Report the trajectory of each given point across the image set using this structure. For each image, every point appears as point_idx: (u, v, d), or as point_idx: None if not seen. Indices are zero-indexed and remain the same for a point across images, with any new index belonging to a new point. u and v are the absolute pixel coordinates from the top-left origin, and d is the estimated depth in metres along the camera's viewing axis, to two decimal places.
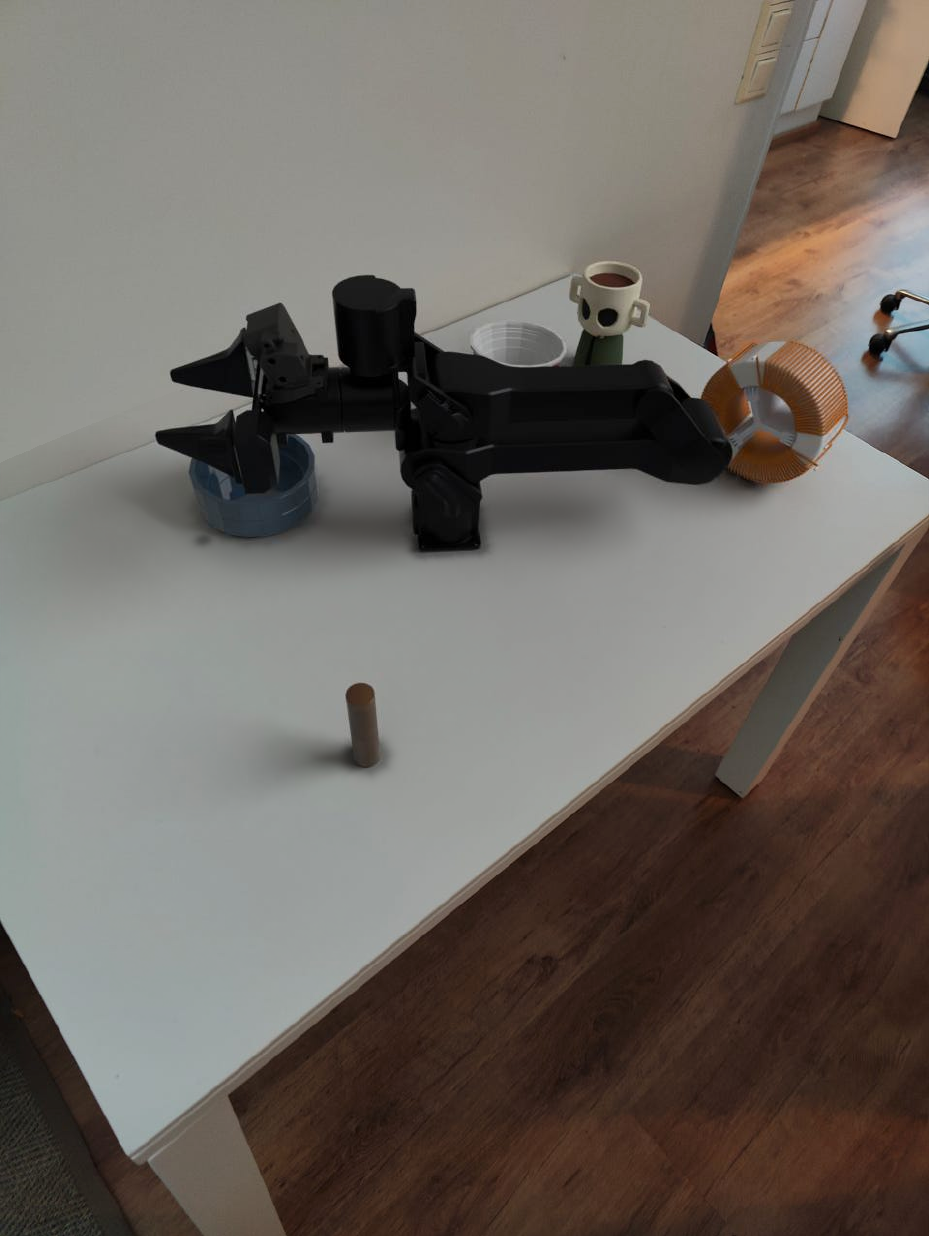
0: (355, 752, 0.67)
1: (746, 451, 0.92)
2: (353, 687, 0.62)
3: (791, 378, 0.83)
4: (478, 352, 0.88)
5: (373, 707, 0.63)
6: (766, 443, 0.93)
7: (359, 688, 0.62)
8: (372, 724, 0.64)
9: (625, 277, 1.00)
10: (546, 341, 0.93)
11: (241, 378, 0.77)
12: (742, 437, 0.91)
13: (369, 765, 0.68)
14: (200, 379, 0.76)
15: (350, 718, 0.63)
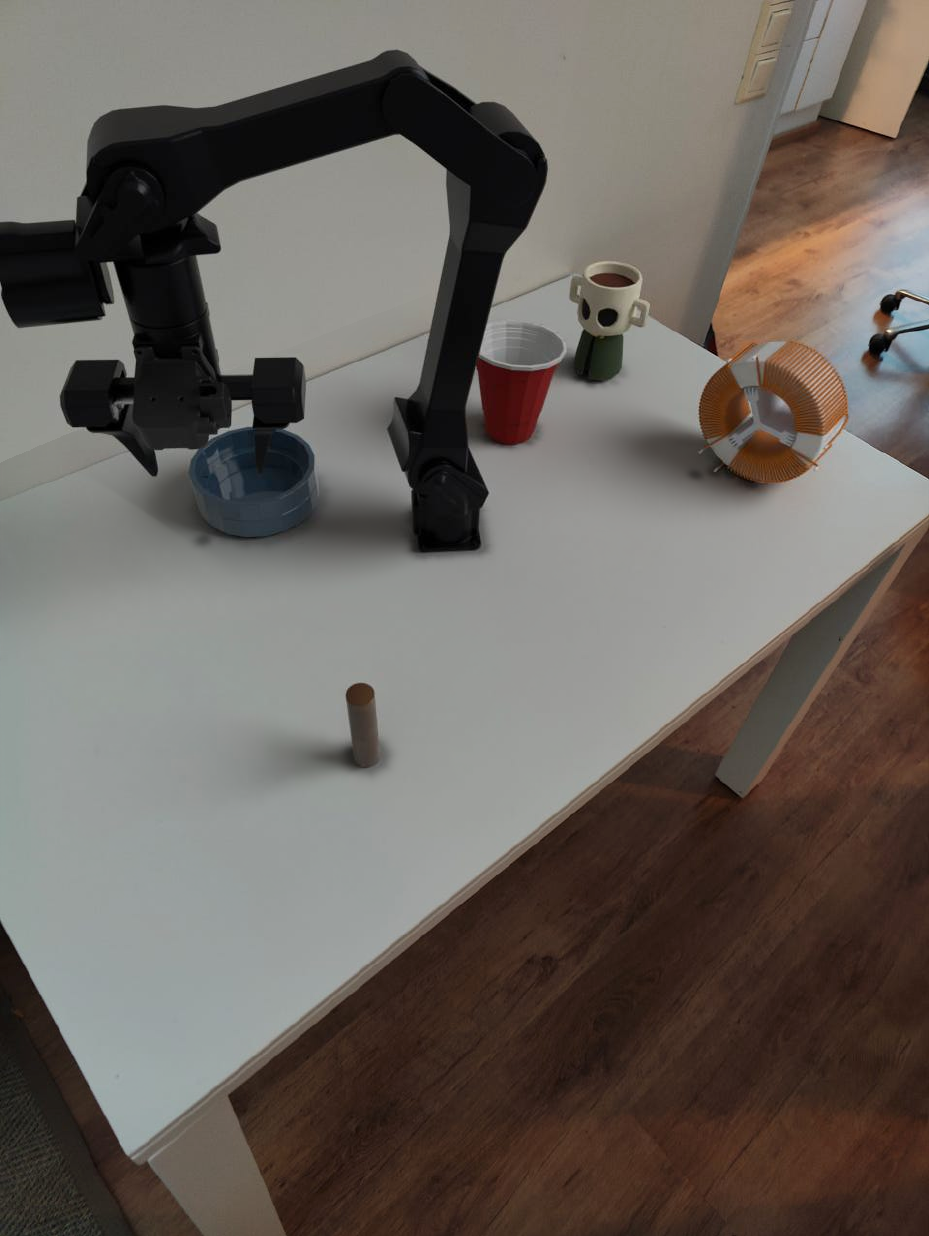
0: (355, 752, 0.67)
1: (746, 451, 0.92)
2: (353, 687, 0.62)
3: (791, 378, 0.83)
4: None
5: (373, 707, 0.63)
6: (766, 443, 0.93)
7: (359, 688, 0.62)
8: (372, 724, 0.64)
9: (625, 277, 1.00)
10: (546, 341, 0.93)
11: (133, 409, 0.69)
12: (742, 437, 0.91)
13: (369, 765, 0.68)
14: None
15: (350, 718, 0.63)
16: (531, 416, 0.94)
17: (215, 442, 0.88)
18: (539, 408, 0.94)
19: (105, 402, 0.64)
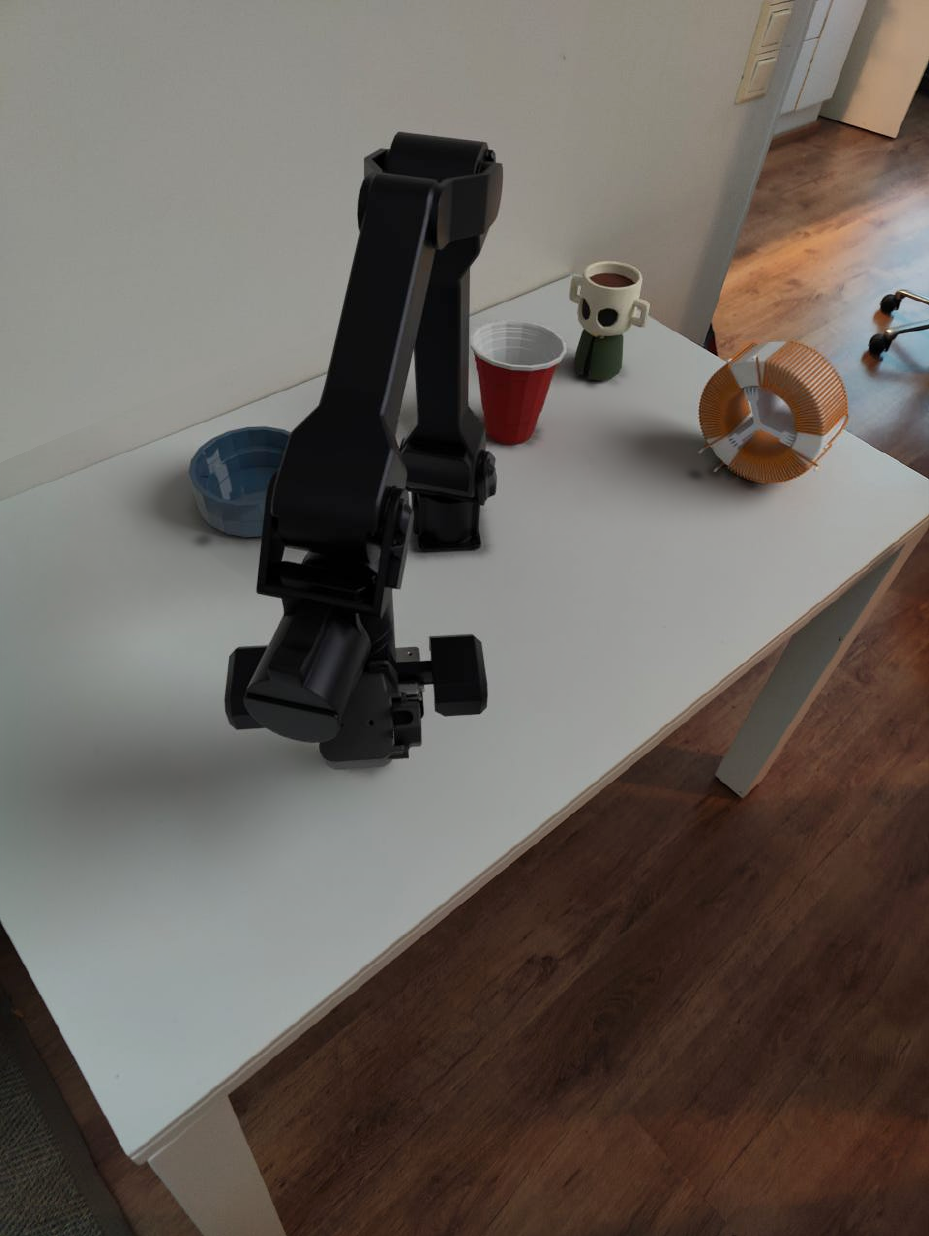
0: None
1: (746, 451, 0.92)
2: None
3: (791, 378, 0.83)
4: (478, 352, 0.88)
5: None
6: (766, 443, 0.93)
7: None
8: None
9: (625, 277, 1.00)
10: (546, 341, 0.93)
11: None
12: (742, 437, 0.91)
13: None
14: None
15: None
16: (531, 416, 0.94)
17: (215, 442, 0.88)
18: (539, 408, 0.94)
19: None
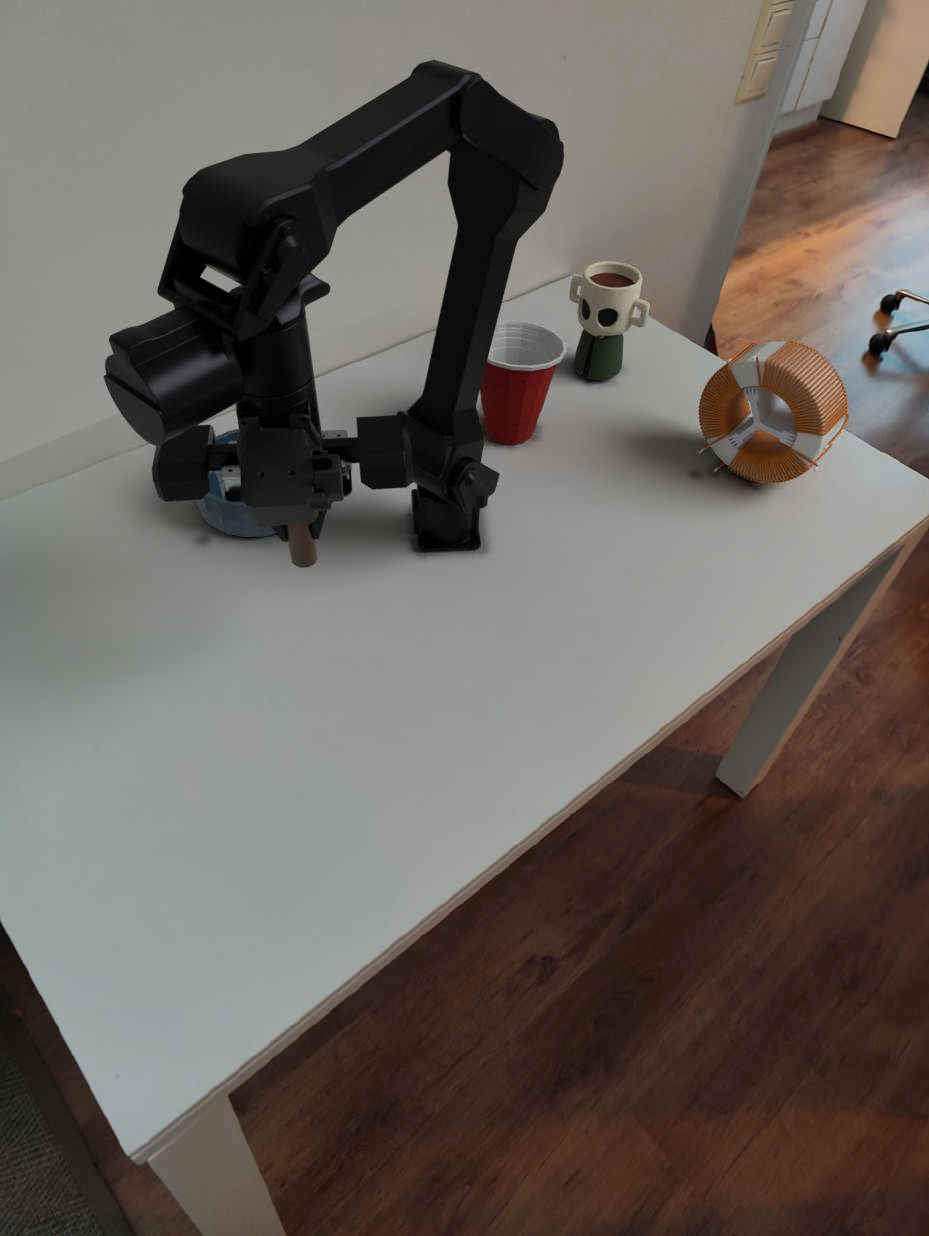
0: (291, 549, 0.68)
1: (746, 451, 0.92)
2: None
3: (791, 378, 0.83)
4: None
5: None
6: (766, 443, 0.93)
7: None
8: None
9: (625, 277, 1.00)
10: (546, 341, 0.93)
11: None
12: (742, 437, 0.91)
13: (306, 565, 0.69)
14: None
15: None
16: (531, 416, 0.94)
17: None
18: (539, 408, 0.94)
19: (202, 474, 0.59)
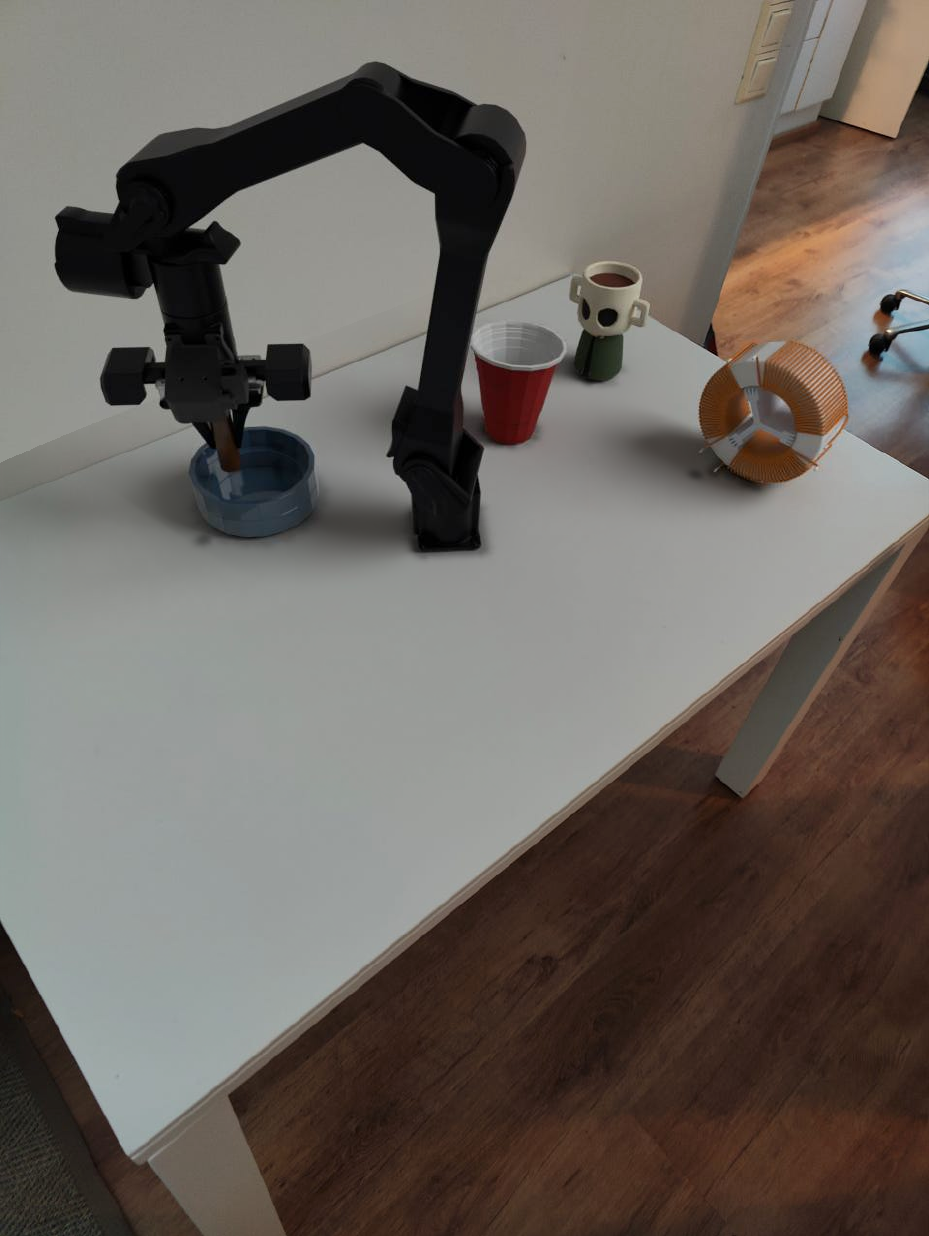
0: (218, 456, 0.83)
1: (746, 451, 0.92)
2: None
3: (791, 378, 0.83)
4: (478, 352, 0.88)
5: None
6: (766, 443, 0.93)
7: None
8: (227, 423, 0.80)
9: (625, 277, 1.00)
10: (546, 341, 0.93)
11: None
12: (742, 437, 0.91)
13: (231, 470, 0.84)
14: None
15: None
16: (531, 416, 0.94)
17: None
18: (539, 408, 0.94)
19: (139, 383, 0.74)
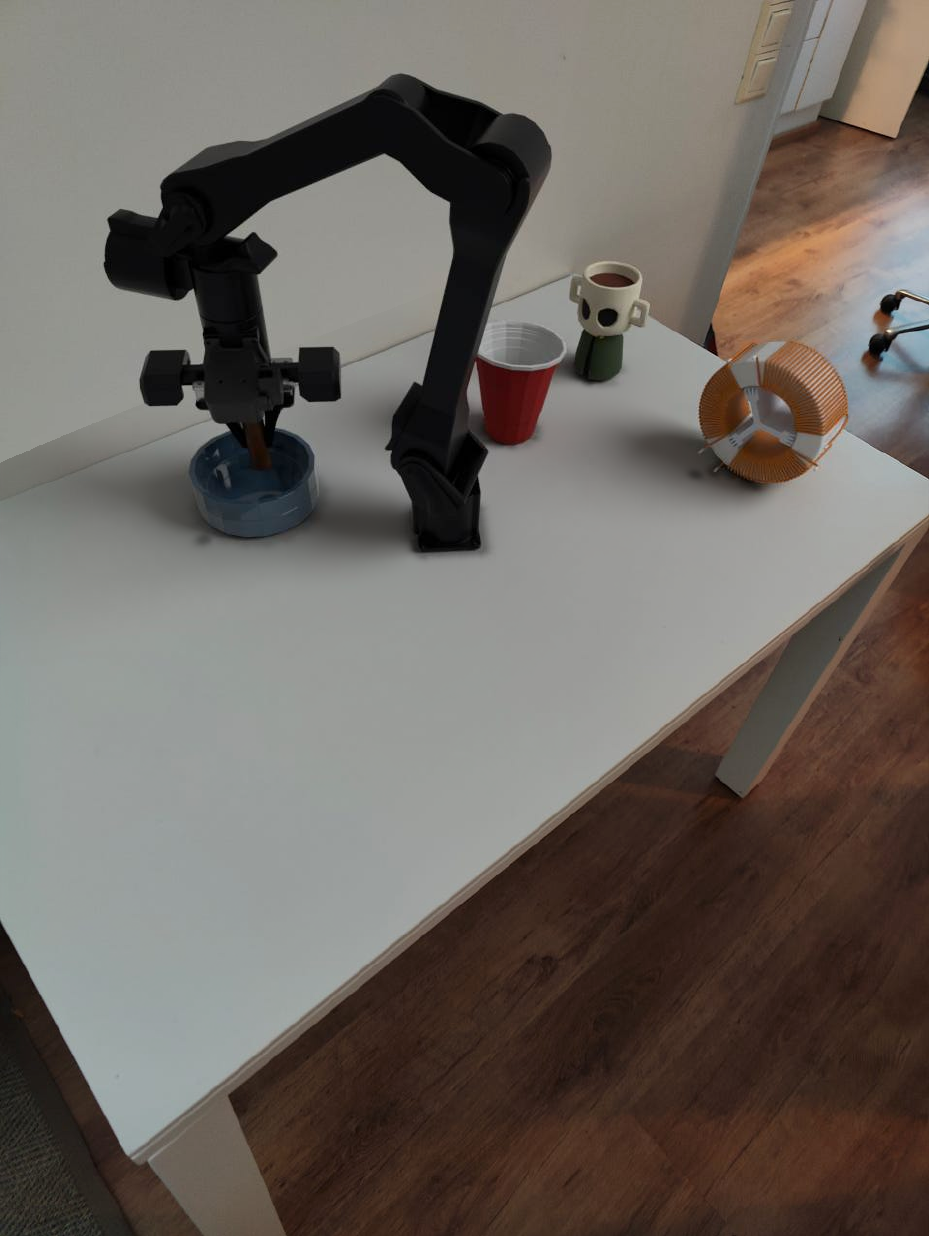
0: (249, 455, 0.86)
1: (746, 451, 0.92)
2: None
3: (791, 378, 0.83)
4: (478, 352, 0.88)
5: None
6: (766, 443, 0.93)
7: None
8: (259, 423, 0.83)
9: (625, 277, 1.00)
10: (546, 341, 0.93)
11: None
12: (742, 437, 0.91)
13: (262, 468, 0.87)
14: None
15: None
16: (531, 416, 0.94)
17: (215, 442, 0.88)
18: (539, 408, 0.94)
19: (177, 385, 0.77)
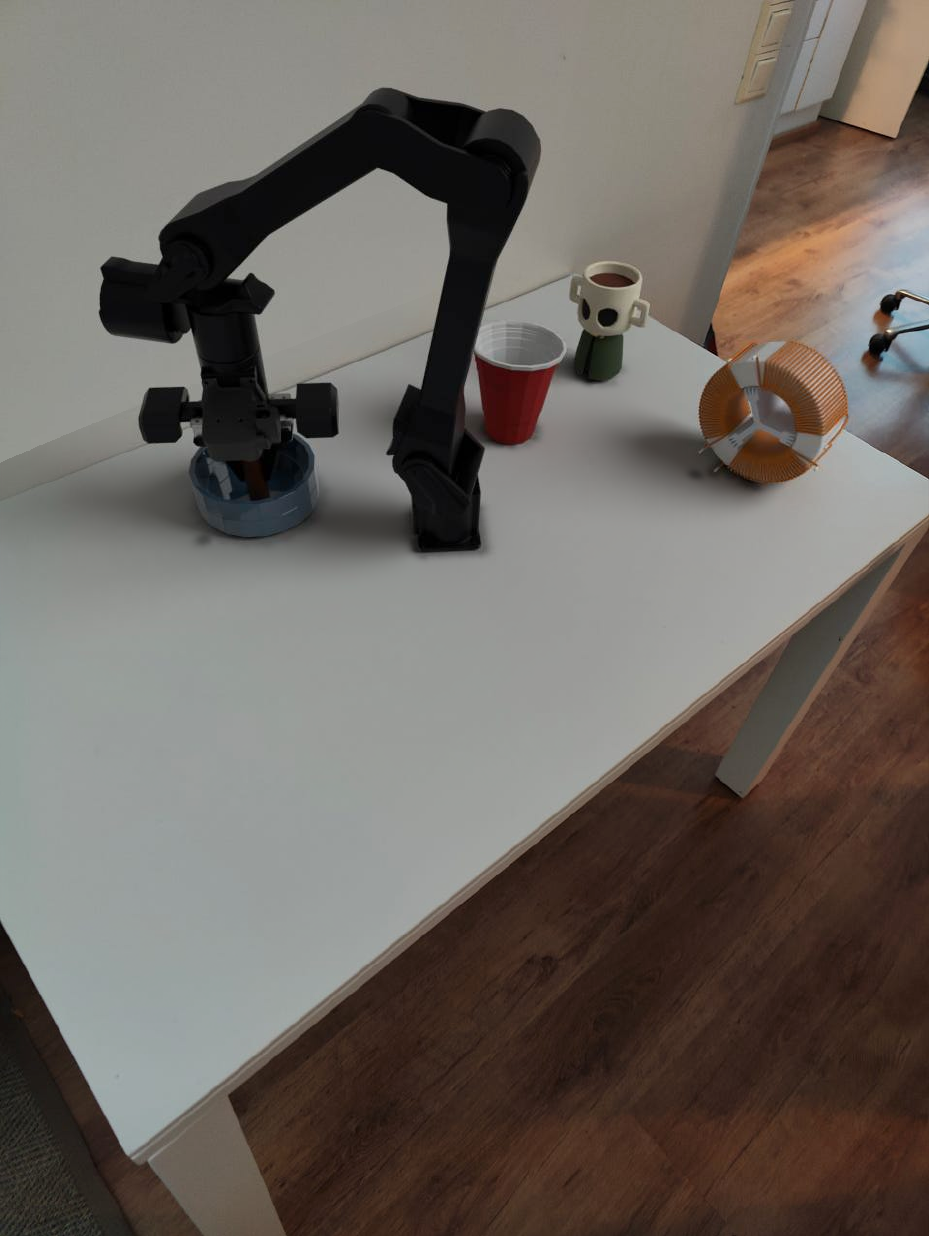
0: (248, 487, 0.87)
1: (746, 451, 0.92)
2: None
3: (791, 378, 0.83)
4: (478, 352, 0.88)
5: None
6: (766, 443, 0.93)
7: None
8: None
9: (625, 277, 1.00)
10: (546, 341, 0.93)
11: None
12: (742, 437, 0.91)
13: None
14: None
15: None
16: (531, 416, 0.94)
17: None
18: (539, 408, 0.94)
19: (176, 423, 0.78)
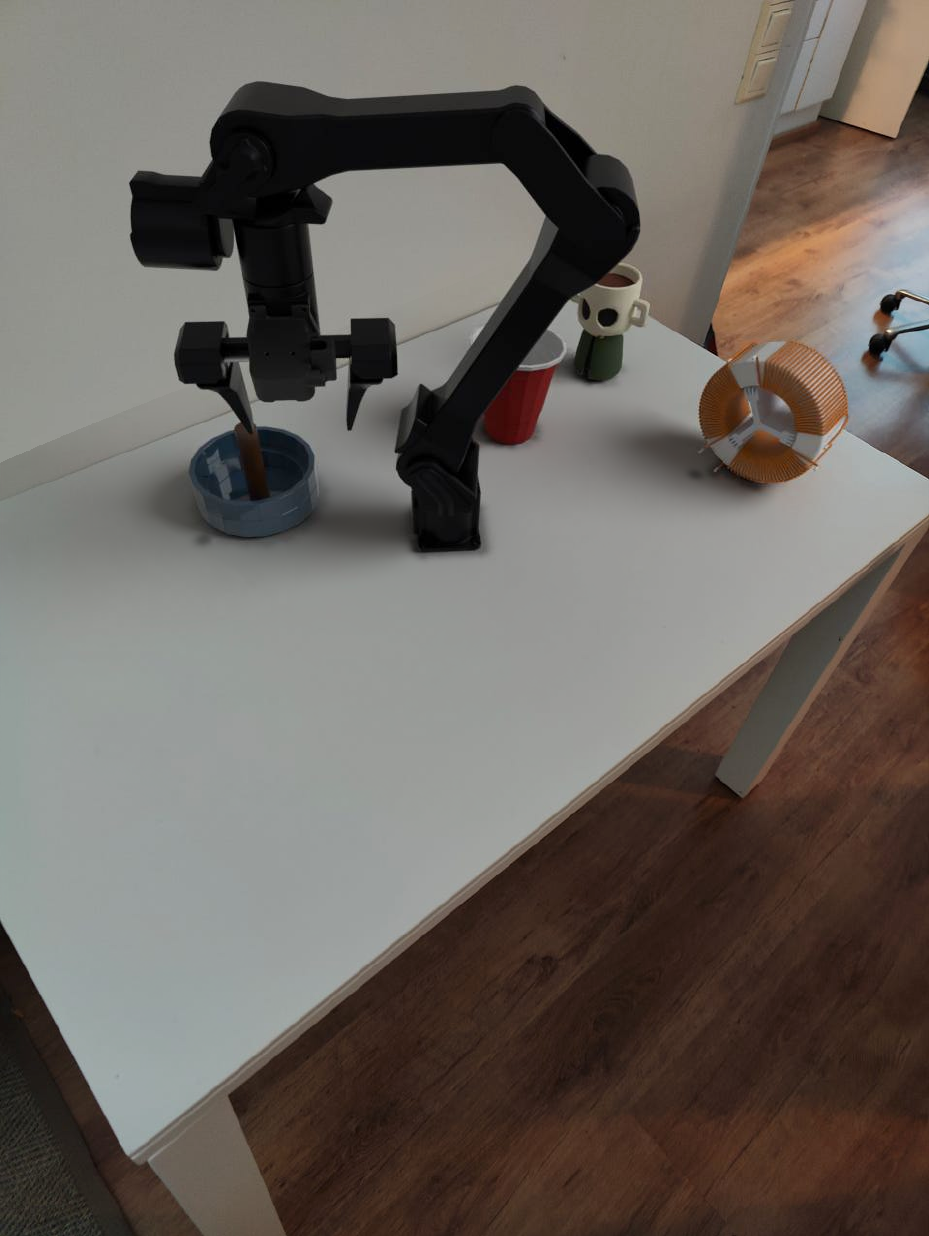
0: (248, 487, 0.87)
1: (746, 451, 0.92)
2: (240, 423, 0.82)
3: (791, 378, 0.83)
4: None
5: (256, 439, 0.82)
6: (766, 443, 0.93)
7: None
8: (257, 456, 0.84)
9: (625, 277, 1.00)
10: (546, 341, 0.93)
11: (235, 369, 0.73)
12: (742, 437, 0.91)
13: None
14: (248, 405, 0.76)
15: (239, 449, 0.83)
16: (531, 416, 0.94)
17: (215, 442, 0.88)
18: (539, 408, 0.94)
19: (216, 359, 0.69)
